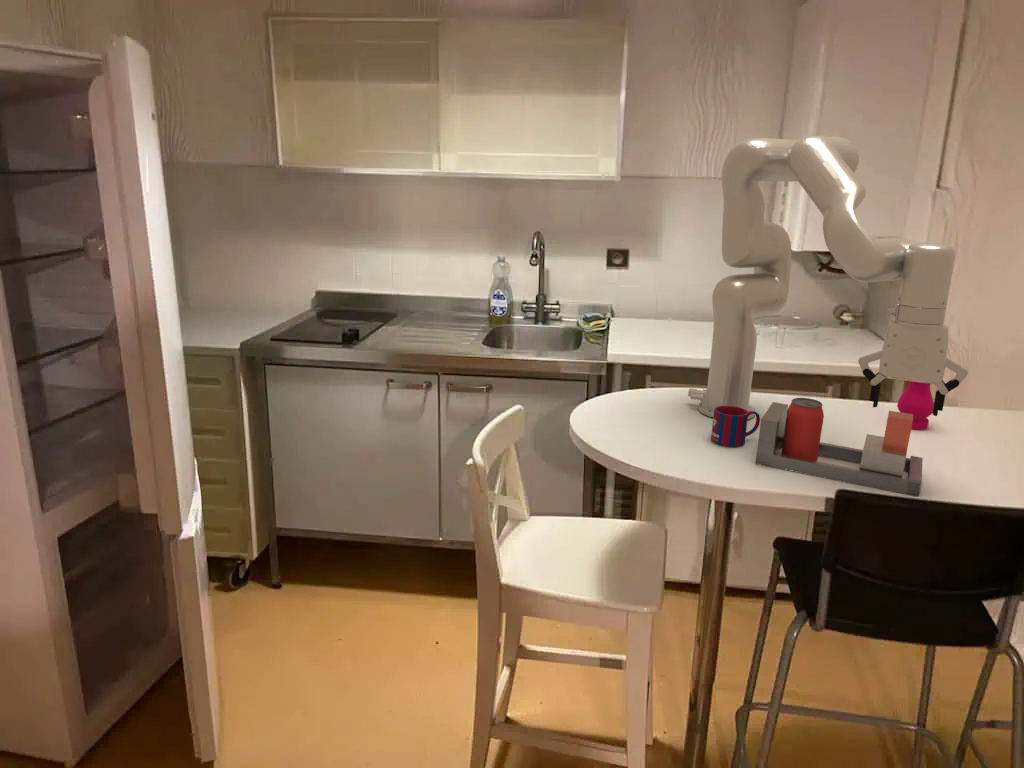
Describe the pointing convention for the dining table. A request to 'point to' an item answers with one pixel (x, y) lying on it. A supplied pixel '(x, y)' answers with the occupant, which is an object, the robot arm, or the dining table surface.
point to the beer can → (803, 429)
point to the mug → (731, 426)
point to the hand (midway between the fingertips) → (904, 409)
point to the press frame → (773, 442)
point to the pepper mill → (917, 404)
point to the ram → (888, 446)
